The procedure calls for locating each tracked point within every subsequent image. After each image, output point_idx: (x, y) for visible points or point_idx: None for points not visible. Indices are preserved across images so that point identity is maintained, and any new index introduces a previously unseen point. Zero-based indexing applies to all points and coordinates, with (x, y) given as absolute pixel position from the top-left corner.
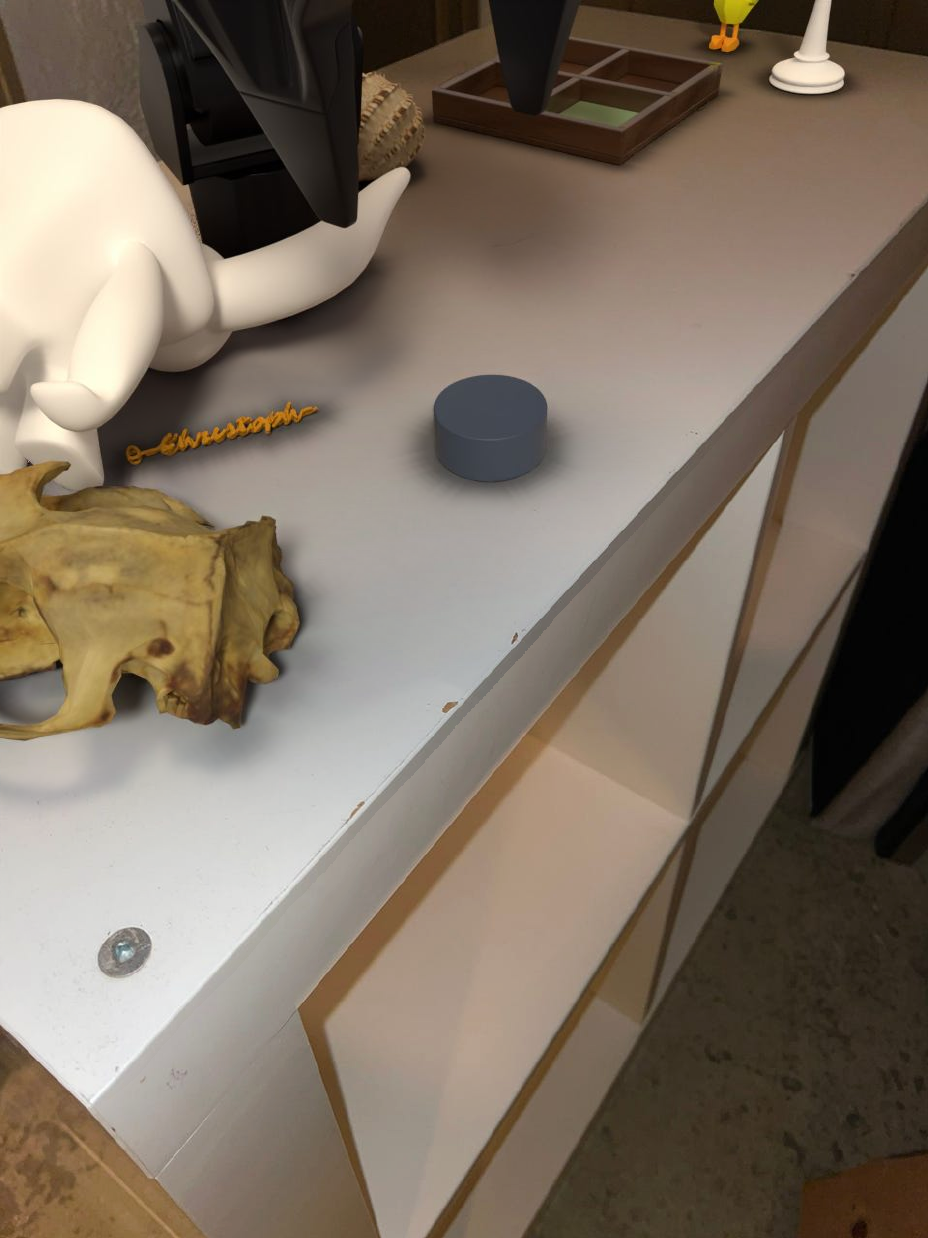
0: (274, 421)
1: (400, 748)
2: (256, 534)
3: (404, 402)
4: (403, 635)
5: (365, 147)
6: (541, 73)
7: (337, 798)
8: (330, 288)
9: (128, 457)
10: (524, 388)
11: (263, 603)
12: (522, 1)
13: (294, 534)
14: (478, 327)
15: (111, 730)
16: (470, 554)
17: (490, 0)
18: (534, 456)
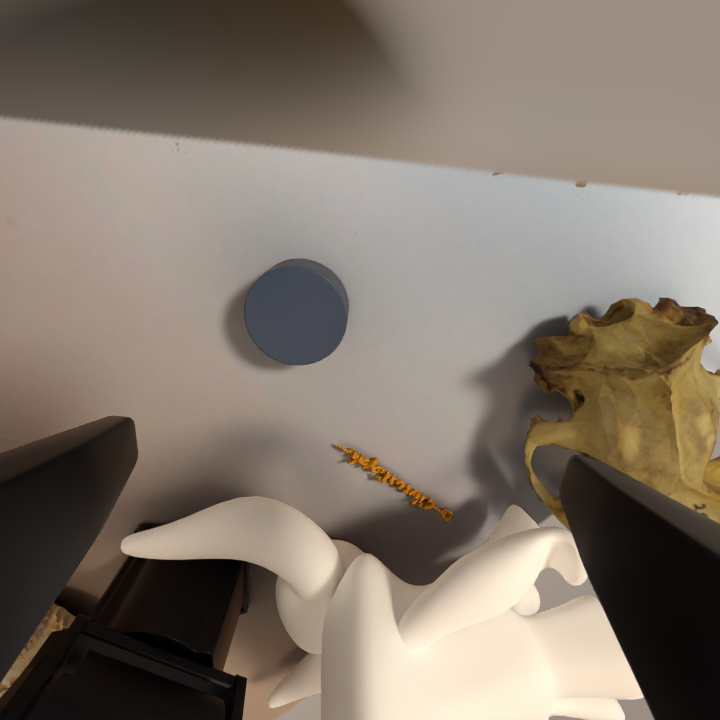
0: (367, 461)
1: (626, 195)
2: (612, 363)
3: (286, 397)
4: (527, 252)
5: None
6: (97, 448)
7: (678, 210)
8: (281, 504)
9: (451, 515)
10: (255, 303)
11: (620, 331)
12: (17, 570)
13: (463, 379)
14: (155, 401)
15: None
16: (427, 253)
17: (42, 619)
18: (306, 261)
